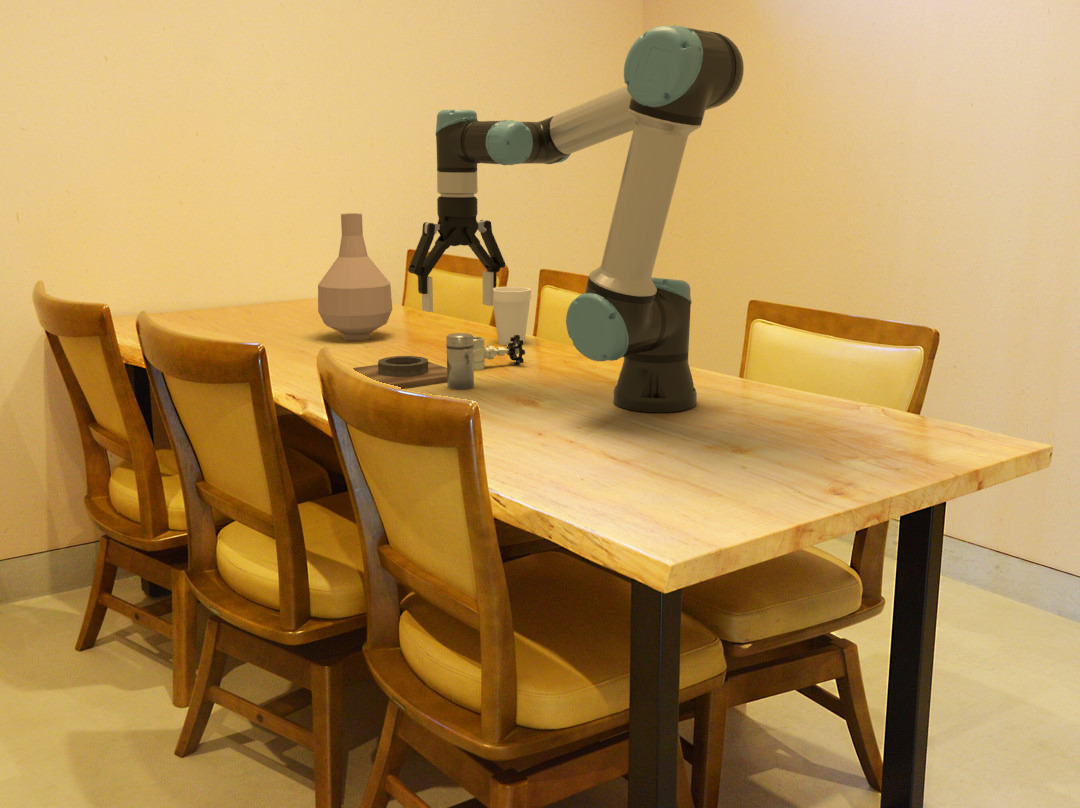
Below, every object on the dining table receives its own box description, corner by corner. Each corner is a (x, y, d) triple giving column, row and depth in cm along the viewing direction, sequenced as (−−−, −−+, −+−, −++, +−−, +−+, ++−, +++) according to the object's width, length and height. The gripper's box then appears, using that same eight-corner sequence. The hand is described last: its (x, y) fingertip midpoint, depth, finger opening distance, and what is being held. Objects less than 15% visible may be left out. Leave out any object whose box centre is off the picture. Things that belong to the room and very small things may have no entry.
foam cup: (487, 345, 241) (486, 291, 238) (497, 338, 250) (497, 286, 247) (525, 347, 239) (525, 292, 236) (535, 340, 248) (535, 287, 244)
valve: (472, 372, 213) (525, 367, 218) (472, 341, 211) (525, 337, 216) (461, 366, 219) (512, 362, 224) (461, 336, 217) (512, 332, 222)
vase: (400, 341, 246) (396, 215, 239) (327, 346, 240) (320, 217, 233) (383, 329, 262) (379, 211, 255) (314, 334, 256) (308, 212, 248)
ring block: (464, 379, 206) (464, 362, 205) (384, 391, 196) (384, 374, 195) (420, 364, 220) (420, 348, 219) (343, 374, 210) (343, 358, 209)
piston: (479, 387, 199) (478, 335, 197) (456, 391, 196) (455, 338, 194) (465, 382, 203) (464, 331, 201) (442, 386, 200) (441, 334, 198)
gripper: (501, 193, 201) (501, 300, 206) (388, 195, 187) (391, 310, 192) (523, 194, 195) (522, 305, 200) (408, 198, 181) (410, 316, 186)
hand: (458, 308), depth 196 cm, fingers open, 13 cm apart
